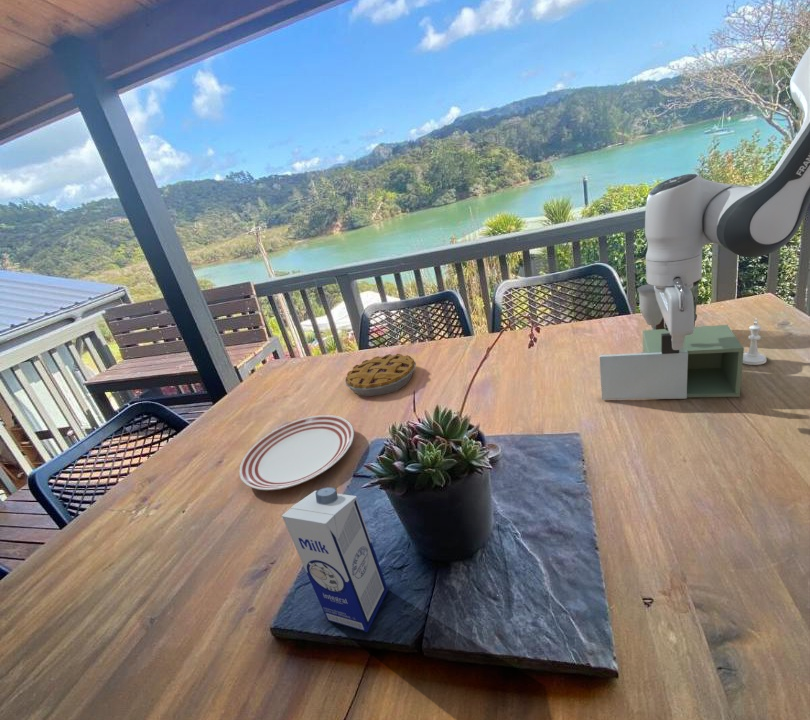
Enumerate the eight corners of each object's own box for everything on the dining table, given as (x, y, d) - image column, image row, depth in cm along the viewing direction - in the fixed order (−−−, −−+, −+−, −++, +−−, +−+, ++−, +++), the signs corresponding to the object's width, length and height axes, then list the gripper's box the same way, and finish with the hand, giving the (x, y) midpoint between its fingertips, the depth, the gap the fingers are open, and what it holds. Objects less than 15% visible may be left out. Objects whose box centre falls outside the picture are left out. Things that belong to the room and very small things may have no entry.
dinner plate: (320, 503, 86) (315, 490, 85) (218, 494, 97) (212, 482, 96) (375, 425, 109) (371, 414, 108) (287, 425, 120) (283, 415, 119)
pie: (404, 397, 119) (400, 381, 117) (336, 400, 127) (331, 385, 126) (426, 362, 138) (423, 348, 136) (365, 366, 146) (361, 353, 144)
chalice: (644, 349, 113) (643, 282, 107) (673, 352, 109) (674, 283, 102) (633, 361, 109) (632, 292, 102) (663, 365, 104) (664, 293, 97)
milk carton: (326, 620, 62) (279, 514, 55) (349, 580, 68) (310, 479, 60) (368, 632, 59) (325, 522, 52) (389, 589, 65) (353, 484, 57)
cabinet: (739, 396, 87) (744, 348, 83) (648, 397, 94) (648, 352, 89) (724, 369, 97) (727, 324, 93) (643, 372, 104) (642, 330, 99)
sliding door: (686, 399, 90) (688, 334, 84) (601, 400, 96) (598, 339, 91) (685, 396, 91) (687, 331, 85) (601, 397, 97) (598, 337, 92)
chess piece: (736, 363, 98) (739, 322, 94) (740, 354, 101) (743, 314, 97) (764, 366, 94) (769, 323, 91) (768, 356, 98) (772, 315, 94)
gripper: (705, 284, 71) (703, 360, 76) (683, 254, 88) (682, 318, 93) (661, 289, 73) (662, 362, 79) (647, 259, 90) (649, 321, 95)
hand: (673, 338), depth 86 cm, fingers open, 8 cm apart
